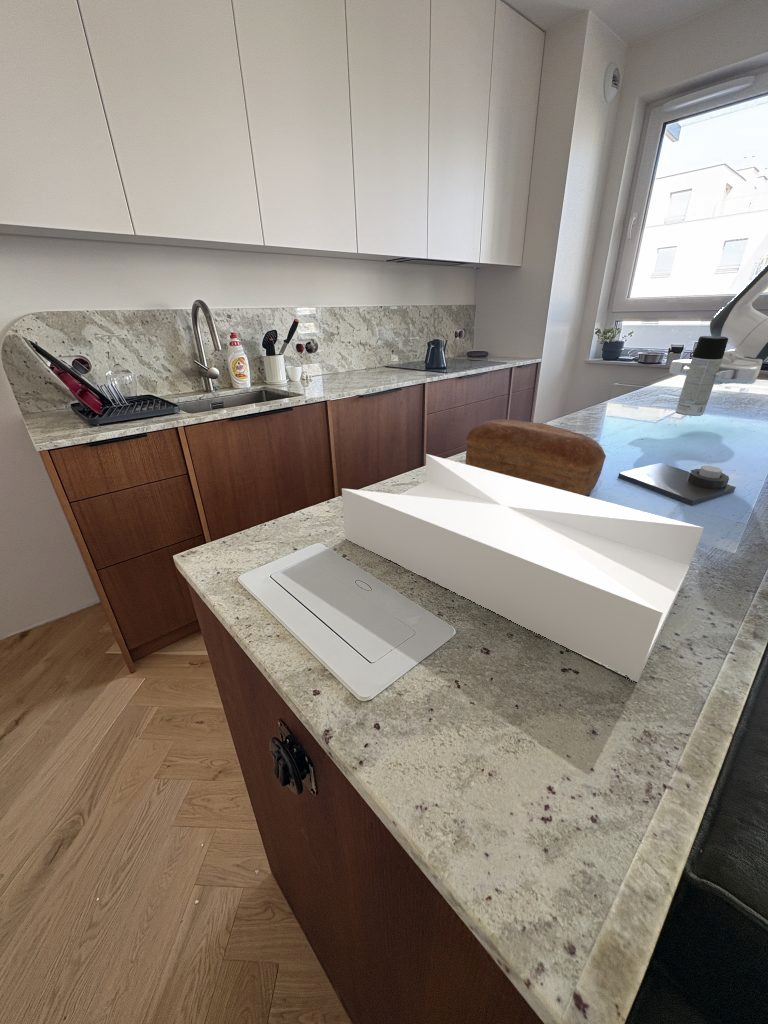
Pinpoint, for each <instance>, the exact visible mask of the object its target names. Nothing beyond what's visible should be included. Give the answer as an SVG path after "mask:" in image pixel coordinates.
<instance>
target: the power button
mask: <svg viewBox="0 0 768 1024" xmlns="http://www.w3.org/2000/svg"><path fill="white" fill-rule="evenodd" d="M699 469H700V471H699V475H700V476H703V477H706V478H712V479H719V478H720V476H721V473H723V469H722V468H721V467H718V466H714V465H701V466H700V468H699Z"/></svg>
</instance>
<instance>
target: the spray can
mask: <svg viewBox="0 0 768 1024" xmlns="http://www.w3.org/2000/svg"><path fill="white" fill-rule="evenodd" d="M727 342H728V338H727V337H720V336H711V335H702V336H699V337H698V339H697V343H696V345H695V348H694V350H693V354H692V357H691V363H690V366H689V369H688V372H687V376H685V379H684V382H683V386H682V388H681V392H680V395H679V398H678V401H677V403H676V408H675V413H676V414H677V415H682V416H688V417H701V416H702V415H704V413H705V411H706V408H707V405H708V402H709V400H710V397H711V393H712V390H713V387H714V385H715V384H714V382H715V379H716V378H714V376H715V373H716V372H717V371H719V368H720V365H721V362H722V359H723V356H724V353H725V351H726V348H727V346H728V343H727Z"/></svg>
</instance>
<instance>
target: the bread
mask: <svg viewBox="0 0 768 1024" xmlns="http://www.w3.org/2000/svg"><path fill="white" fill-rule="evenodd" d="M606 457H607V455H606V453H605V451H604V448H603V446H601V445H600V443H599V442H597V440H595V439H593V438H591V437H589V436H588V435H585V434H583V433H578V432H574V431H571V430H569V429H566V428H562V427H558V426H554V425H551V424H548V423H542V422H532V421H525V420H515V419H506V418H501V419H494V420H486V421H484V422H481V423H479V424H477V425H475V426H474V427H472V429H470V431H469V432H468V434H467V436H466V450H465V464H466V465H470V466H474V467H478V468H481V469H485V470H489V471H493V472H497V473H500V474H504V475H508V476H512V477H515V478H519V479H523V480H527V481H530V482H534V483H538V484H542V485H545V486H549V487H553V488H557V489H561V490H564V491H568V492H572V493H576V494H579V495H583V496H586V495H588V494H590V493H591V492H592V491H593V490H594V489H595V488H596V485H597V483H598V481H599V479H600V477H601V475H602V471H603V468H604V463H605V460H606Z"/></svg>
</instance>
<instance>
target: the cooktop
mask: <svg viewBox="0 0 768 1024" xmlns="http://www.w3.org/2000/svg"><path fill="white" fill-rule="evenodd" d="M699 471H700V468H694V469H691V470H690V471H687V470H685V469H682V468H678V467H676V466H672V465H668V464H667V463H664V462H658V463H653V464H649V465H645V466H642V467H637V468H633V469H630V470H625V471H621V472H619V473H618V476H617V478H618V479H620V480H622V481H625V482H628V483H631V484H634V485H636V486H638V487H641V488H643V489H646V490H648V491H652V492H654V493H656V494H659V495H662V496H664V497H667V498H669V499H672V500H675V501H677V502H680V503H683V504H685V505H688V506H691V507H692V506H696V505H699V504H702V503H705V502H707V501H711V500H715V499H717V498H721V497H723V496H726V495H729V494H732V493H734V492H735V490H736V489H737V487H736V486H735V485H730V484H728V483H729V481H730V476H729V475H727V474H725V473H723V472H722V473H721V476H720V478H719V479H712V478H706V477H703V476H700V475H699Z"/></svg>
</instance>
